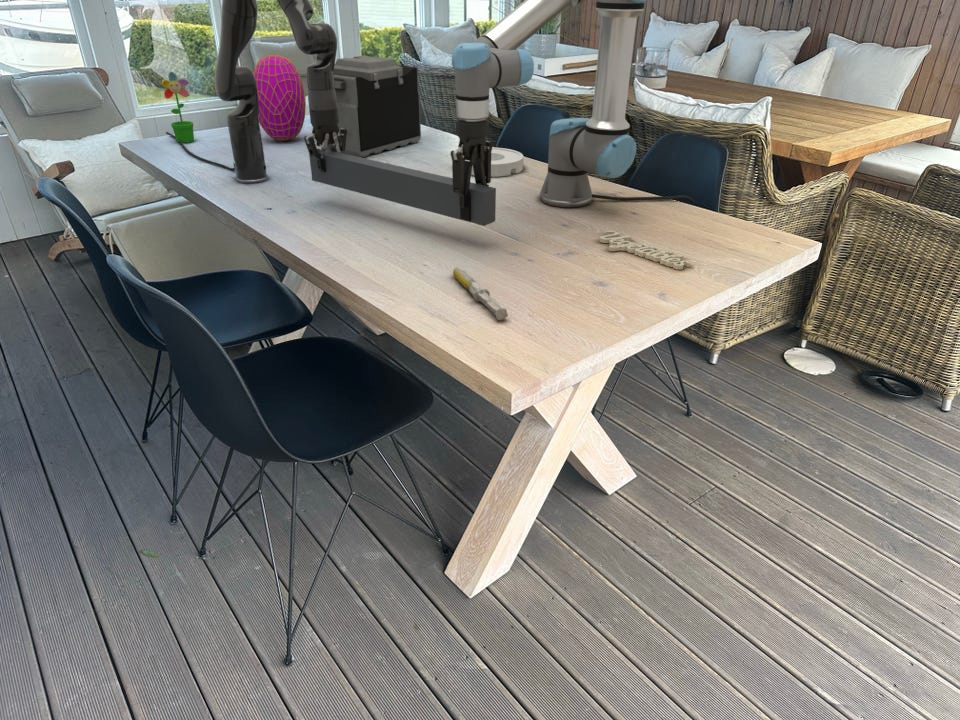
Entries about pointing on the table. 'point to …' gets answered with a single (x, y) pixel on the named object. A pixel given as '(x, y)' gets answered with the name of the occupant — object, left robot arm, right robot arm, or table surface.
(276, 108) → the decorative egg
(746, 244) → the table surface
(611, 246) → the decorative sign
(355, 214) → the table surface
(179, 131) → the potted flower
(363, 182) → the bar
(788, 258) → the table surface
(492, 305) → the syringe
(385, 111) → the grey tool box
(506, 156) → the ashtray
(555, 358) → the table surface
